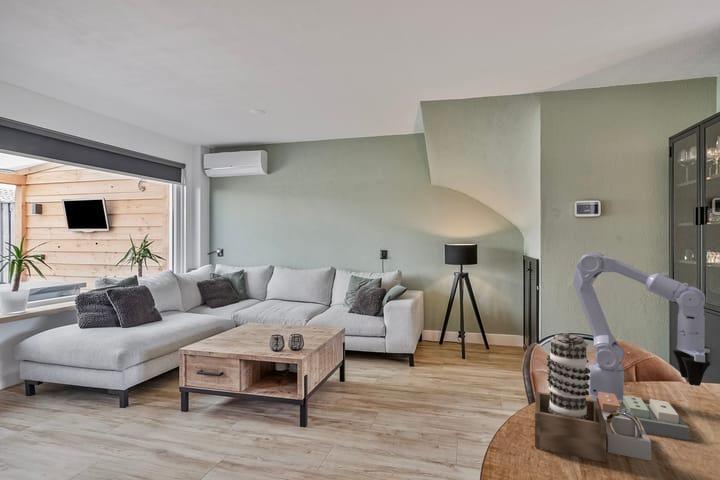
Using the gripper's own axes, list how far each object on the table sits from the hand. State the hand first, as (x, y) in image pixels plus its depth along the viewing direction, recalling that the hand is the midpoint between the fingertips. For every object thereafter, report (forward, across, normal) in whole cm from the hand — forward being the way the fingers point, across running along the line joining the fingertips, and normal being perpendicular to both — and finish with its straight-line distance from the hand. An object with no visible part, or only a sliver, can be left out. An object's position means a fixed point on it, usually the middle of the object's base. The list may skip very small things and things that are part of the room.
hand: (690, 381), depth 108 cm
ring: (+9, -26, +20) cm, 34 cm away
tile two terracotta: (+7, -11, +20) cm, 24 cm away
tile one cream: (+7, -11, +9) cm, 16 cm away
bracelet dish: (+9, -26, +20) cm, 34 cm away
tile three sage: (+7, -11, +15) cm, 20 cm away
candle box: (+9, -30, +32) cm, 45 cm away
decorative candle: (+10, -30, +32) cm, 45 cm away
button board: (+9, -11, +14) cm, 20 cm away
